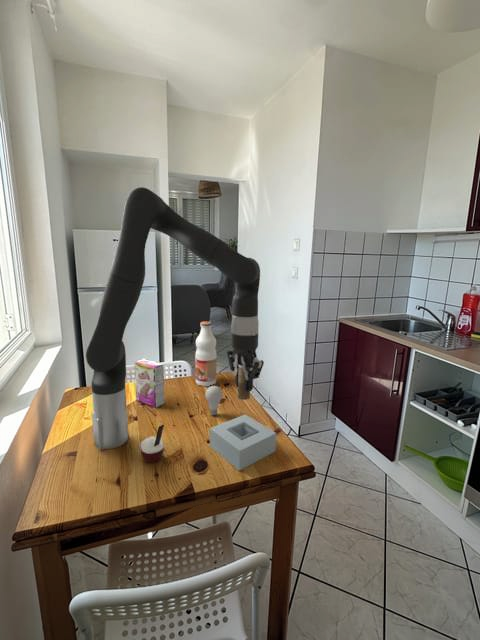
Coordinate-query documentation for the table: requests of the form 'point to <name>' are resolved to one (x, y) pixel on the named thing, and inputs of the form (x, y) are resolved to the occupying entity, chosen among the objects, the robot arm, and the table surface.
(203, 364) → the fruit juice
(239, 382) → the dowel
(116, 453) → the table surface
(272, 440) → the socket block
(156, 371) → the candy bar box
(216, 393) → the lightbulb
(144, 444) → the cocoa
